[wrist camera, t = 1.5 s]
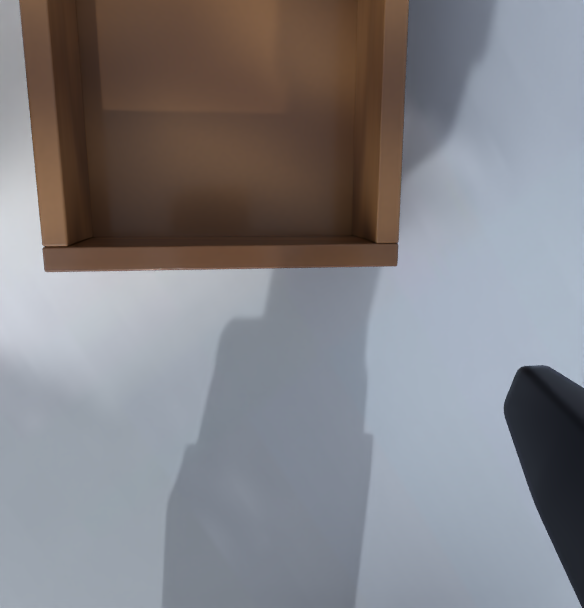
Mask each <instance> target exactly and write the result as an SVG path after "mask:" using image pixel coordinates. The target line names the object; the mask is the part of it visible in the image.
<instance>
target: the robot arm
mask: <svg viewBox="0 0 584 608" xmlns="http://www.w3.org/2000/svg"><path fill="white" fill-rule="evenodd" d="M504 415H505V419H506V422H507V425H508V428H509V431H510V434H511V437H512V440H513V443H514V446H515V448H516V451H517V454H518V457H519V460H520V463H521V466H522V469H523V472H524V475H525V478H526V481H527V484H528V487H529V490H530V492H531V495H532V498H533V500H534V503H535V505H536V508H537V510H538V512H539V515H540V517H541V519H542V521H543V524H544V526H545V528H546V530H547V532H548V535H549V537H550V539H551V541H552V543H553V545H554V548H555V550H556V552H557V554H558V556H559V558H560V561H561V563H562V565H563V567H564V569H565V571H566V574H567V576H568V578H569V580H570V582H571V585H572V587H573V589H574V591H575V593H576V595H577V598H578V600H579V602H580V604H581V606H582V608H584V388H583V387H581V386H579V385H578V384H576V383H575V382H573V381H571V380H570V379H568V378H567V377H565V376H563V375H562V374H560V373H558V372H557V371H555V370H554V369H552V368H550V367H548V366H544V365H538V366H523V367H521V368H520V369H519V370H518V371H517V372H516V375H515V377H514V380H513V382H512V384H511V387H510V389H509V392H508V394H507V397H506V399H505V403H504Z"/></svg>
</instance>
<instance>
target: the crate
mask: <svg viewBox="0 0 584 608" xmlns="http://www.w3.org/2000/svg"><path fill="white" fill-rule="evenodd" d="M19 5H20V15H21V26H22V36H23V47H24V57H25V68H26V78H27V89H28V99H29V110H30V120H31V131H32V141H33V152H34V162H35V173H36V183H37V194H38V204H39V215H40V225H41V235H42V244H43V246H45V247H43V259H44V269H45V272H82V271H142V270H202V269H261V268H321V267H381V266H397V261H398V244H397V243H398V240H399V218H400V195H401V172H402V149H403V126H404V104H405V81H406V58H407V35H408V13H409V0H19Z"/></svg>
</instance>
